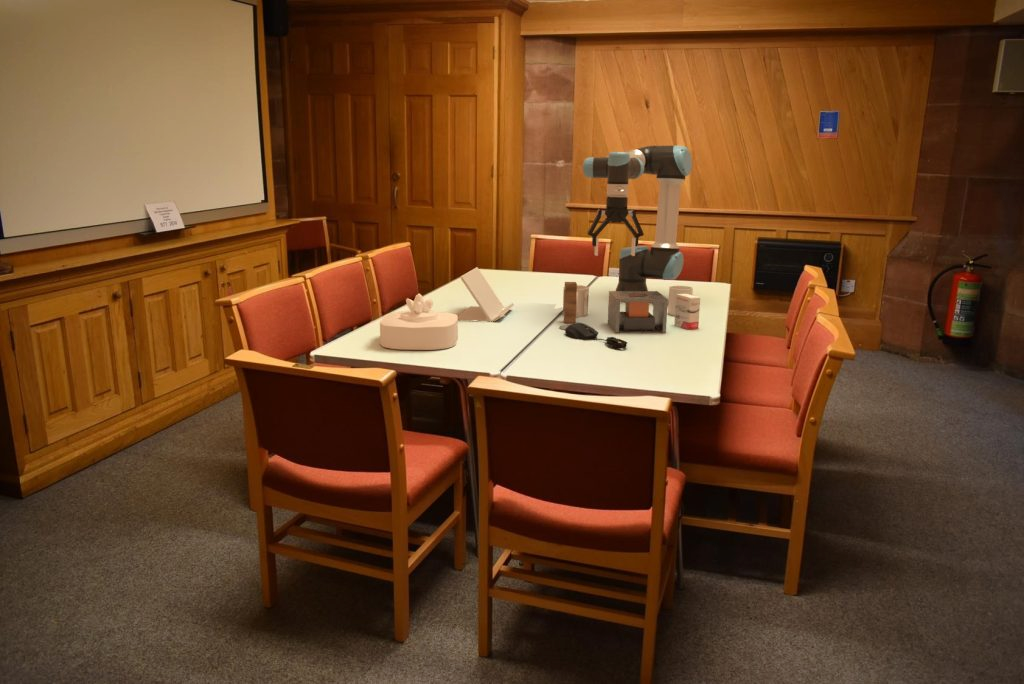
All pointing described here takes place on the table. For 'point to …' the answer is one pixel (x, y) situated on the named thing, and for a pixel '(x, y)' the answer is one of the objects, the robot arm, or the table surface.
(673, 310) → the mug
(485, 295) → the tablet stand
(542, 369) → the table surface
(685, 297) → the ink box
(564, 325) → the coaster
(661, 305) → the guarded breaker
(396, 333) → the pink flower lid box
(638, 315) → the breaker button
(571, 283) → the walnut block
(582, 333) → the computer mouse
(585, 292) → the mug
